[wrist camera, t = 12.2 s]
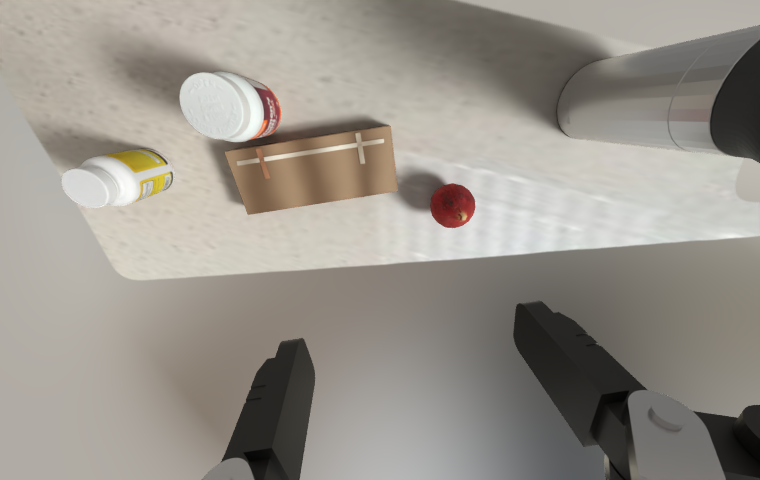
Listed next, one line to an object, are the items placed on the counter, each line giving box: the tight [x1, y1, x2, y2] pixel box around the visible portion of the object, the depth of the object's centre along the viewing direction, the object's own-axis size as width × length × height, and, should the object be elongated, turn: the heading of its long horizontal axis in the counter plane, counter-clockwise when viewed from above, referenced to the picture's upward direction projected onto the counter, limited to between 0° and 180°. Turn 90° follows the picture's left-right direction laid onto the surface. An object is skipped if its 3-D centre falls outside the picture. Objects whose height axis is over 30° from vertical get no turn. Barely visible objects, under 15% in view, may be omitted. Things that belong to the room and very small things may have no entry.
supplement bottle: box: [61, 149, 175, 208], centre depth 30 cm, size 5×5×10 cm
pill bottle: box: [179, 72, 282, 142], centre depth 28 cm, size 6×6×11 cm
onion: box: [430, 184, 475, 228], centre depth 36 cm, size 6×6×8 cm
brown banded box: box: [225, 125, 398, 215], centre depth 35 cm, size 20×8×3 cm, turn 98°
